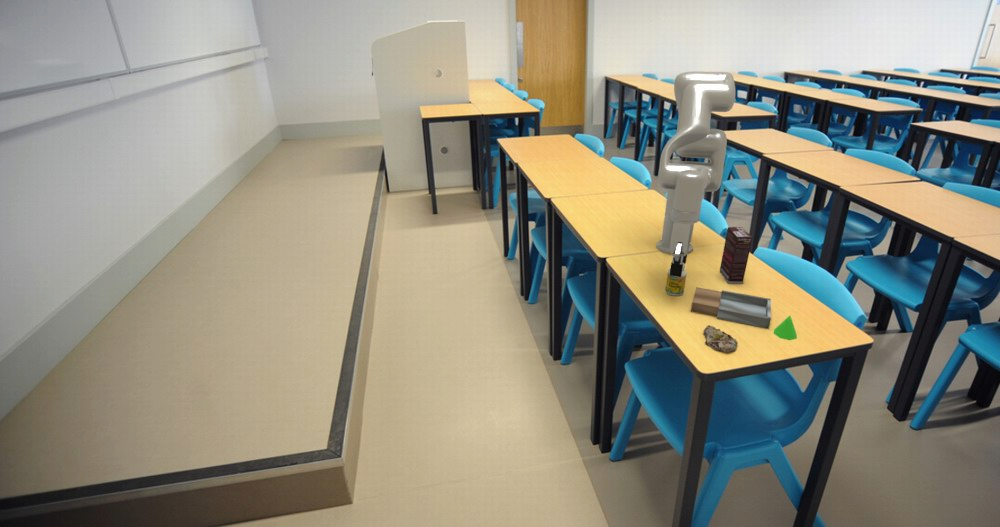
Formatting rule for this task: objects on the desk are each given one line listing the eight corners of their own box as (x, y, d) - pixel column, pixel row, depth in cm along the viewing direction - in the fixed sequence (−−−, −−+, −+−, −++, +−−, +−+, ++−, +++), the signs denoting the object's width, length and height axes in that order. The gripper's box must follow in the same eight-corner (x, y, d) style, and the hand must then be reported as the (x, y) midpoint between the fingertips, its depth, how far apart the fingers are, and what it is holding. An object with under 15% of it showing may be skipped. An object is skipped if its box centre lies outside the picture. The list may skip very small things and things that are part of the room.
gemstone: (778, 326, 141) (783, 306, 139) (801, 335, 137) (807, 315, 135) (768, 333, 138) (773, 314, 135) (791, 343, 134) (797, 323, 131)
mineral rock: (749, 343, 130) (722, 340, 128) (742, 358, 132) (715, 355, 129) (723, 322, 140) (698, 319, 137) (717, 337, 141) (692, 333, 139)
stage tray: (695, 294, 157) (696, 285, 156) (768, 307, 150) (770, 298, 148) (690, 313, 148) (691, 304, 146) (768, 328, 140) (770, 319, 139)
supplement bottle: (683, 289, 161) (687, 261, 156) (683, 297, 156) (688, 268, 152) (665, 287, 162) (669, 259, 158) (664, 295, 157) (668, 266, 153)
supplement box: (743, 284, 163) (753, 237, 156) (727, 284, 163) (737, 237, 156) (733, 271, 171) (742, 226, 164) (718, 271, 171) (726, 226, 164)
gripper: (676, 204, 157) (669, 257, 164) (667, 221, 142) (659, 278, 149) (702, 207, 154) (694, 261, 161) (696, 225, 139) (687, 283, 146)
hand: (677, 269), depth 155 cm, fingers open, 9 cm apart
